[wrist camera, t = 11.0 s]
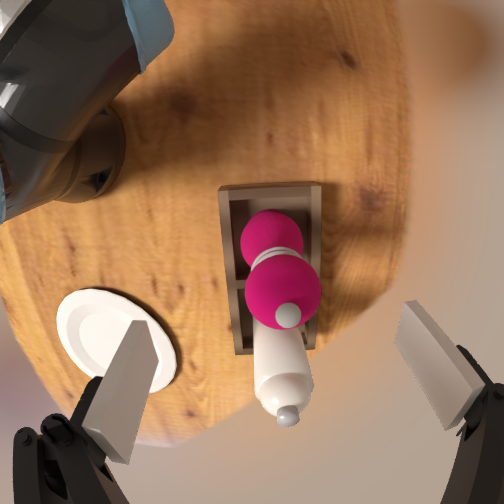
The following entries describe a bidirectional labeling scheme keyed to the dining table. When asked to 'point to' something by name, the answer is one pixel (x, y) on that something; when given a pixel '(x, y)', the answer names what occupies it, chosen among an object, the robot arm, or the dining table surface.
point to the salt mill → (281, 372)
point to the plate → (108, 332)
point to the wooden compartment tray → (236, 268)
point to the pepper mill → (278, 272)
